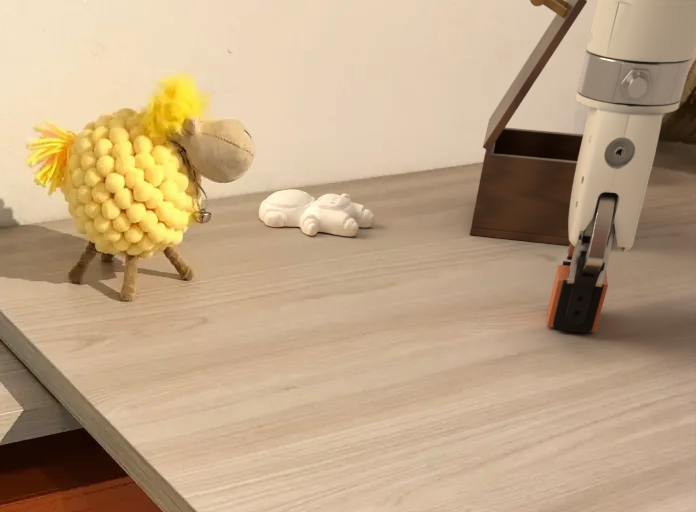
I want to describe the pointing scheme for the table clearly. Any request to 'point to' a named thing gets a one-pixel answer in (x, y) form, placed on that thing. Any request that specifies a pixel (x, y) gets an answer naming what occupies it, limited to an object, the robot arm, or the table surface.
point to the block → (560, 276)
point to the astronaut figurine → (315, 213)
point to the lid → (533, 64)
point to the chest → (527, 186)
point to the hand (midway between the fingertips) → (571, 317)
